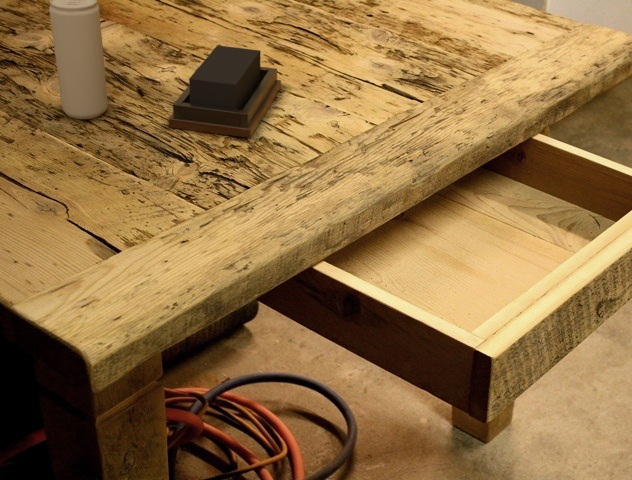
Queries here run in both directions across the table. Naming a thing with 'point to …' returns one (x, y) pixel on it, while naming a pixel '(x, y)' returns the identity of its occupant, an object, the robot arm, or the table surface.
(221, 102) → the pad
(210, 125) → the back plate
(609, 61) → the table surface
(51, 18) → the beverage can
